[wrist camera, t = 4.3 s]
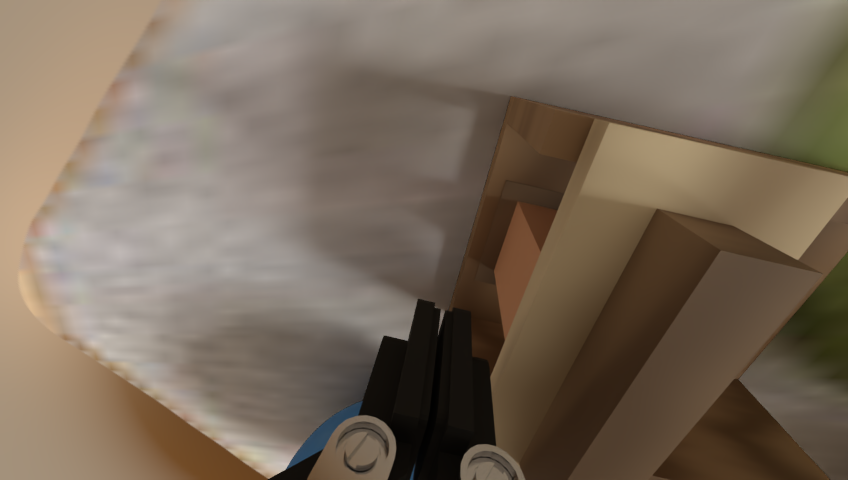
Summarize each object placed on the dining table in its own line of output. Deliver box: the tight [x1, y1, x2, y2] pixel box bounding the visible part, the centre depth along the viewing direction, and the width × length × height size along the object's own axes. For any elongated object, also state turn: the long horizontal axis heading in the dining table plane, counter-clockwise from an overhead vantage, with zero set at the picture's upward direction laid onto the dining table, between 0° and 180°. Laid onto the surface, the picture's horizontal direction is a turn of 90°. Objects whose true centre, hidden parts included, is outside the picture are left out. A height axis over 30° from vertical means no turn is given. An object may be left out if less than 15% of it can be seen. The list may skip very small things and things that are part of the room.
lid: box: [490, 119, 848, 480], centre depth 10 cm, size 6×14×3 cm, turn 168°
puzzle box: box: [449, 96, 848, 480], centre depth 16 cm, size 19×14×10 cm
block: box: [494, 201, 558, 340], centre depth 16 cm, size 4×4×8 cm
